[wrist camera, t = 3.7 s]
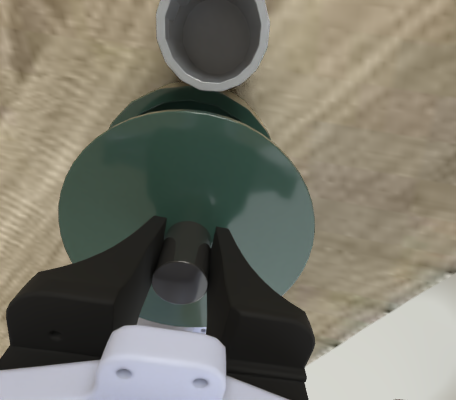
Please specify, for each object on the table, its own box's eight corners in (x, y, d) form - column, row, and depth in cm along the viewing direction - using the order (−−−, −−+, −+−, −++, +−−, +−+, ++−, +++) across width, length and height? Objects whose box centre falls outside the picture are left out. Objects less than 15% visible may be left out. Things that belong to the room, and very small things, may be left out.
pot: (194, 247, 27) (189, 278, 23) (88, 155, 23) (62, 174, 19) (299, 166, 23) (313, 187, 20) (196, 41, 20) (190, 39, 16)
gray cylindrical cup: (214, 95, 21) (209, 113, 15) (162, 34, 19) (132, 25, 13) (270, 42, 20) (291, 37, 13) (219, -29, 18) (216, -72, 12)
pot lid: (190, 341, 21) (183, 409, 17) (19, 221, 16) (-45, 276, 12) (355, 235, 17) (394, 291, 13) (189, 38, 12) (174, 34, 8)
